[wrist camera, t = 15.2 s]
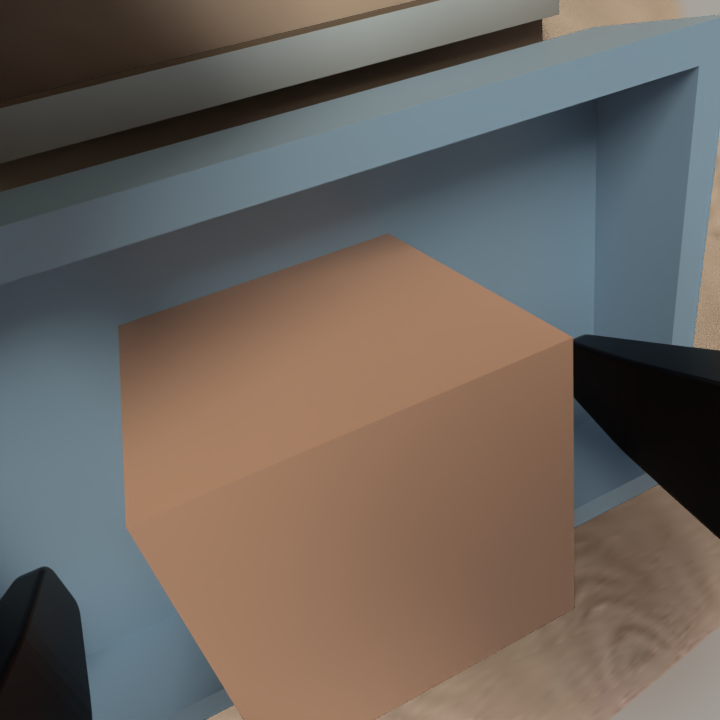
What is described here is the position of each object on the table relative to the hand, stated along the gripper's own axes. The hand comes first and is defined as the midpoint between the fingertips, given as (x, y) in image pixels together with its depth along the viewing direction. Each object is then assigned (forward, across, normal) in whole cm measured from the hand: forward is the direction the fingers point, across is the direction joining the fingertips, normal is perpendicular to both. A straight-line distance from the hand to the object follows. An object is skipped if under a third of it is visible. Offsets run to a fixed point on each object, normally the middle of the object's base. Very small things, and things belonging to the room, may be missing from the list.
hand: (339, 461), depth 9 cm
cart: (+5, 0, 0) cm, 5 cm away
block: (+2, 0, 0) cm, 2 cm away
